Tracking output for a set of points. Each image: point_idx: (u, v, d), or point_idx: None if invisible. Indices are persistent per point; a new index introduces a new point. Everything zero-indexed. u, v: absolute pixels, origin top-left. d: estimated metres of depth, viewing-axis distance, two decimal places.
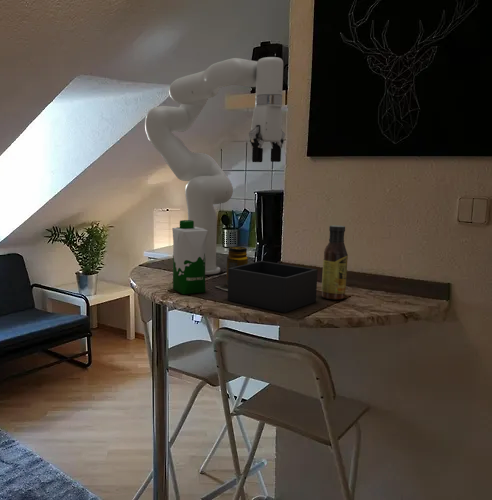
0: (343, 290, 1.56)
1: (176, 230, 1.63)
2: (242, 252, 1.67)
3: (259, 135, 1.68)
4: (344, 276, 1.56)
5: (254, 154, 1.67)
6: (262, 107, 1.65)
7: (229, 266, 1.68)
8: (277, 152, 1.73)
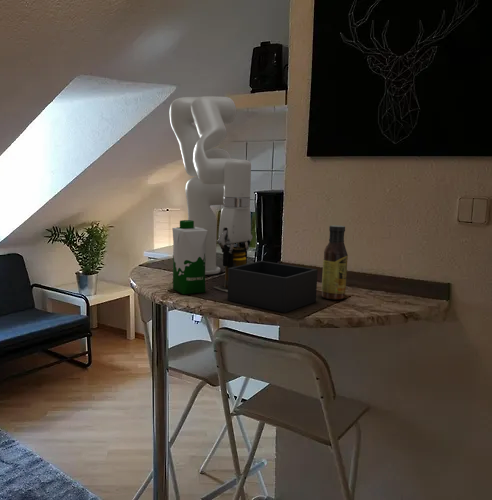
0: (343, 290, 1.56)
1: (176, 230, 1.63)
2: (241, 253, 1.66)
3: (227, 237, 1.66)
4: (344, 276, 1.56)
5: (225, 259, 1.66)
6: (229, 210, 1.63)
7: (228, 267, 1.67)
8: None
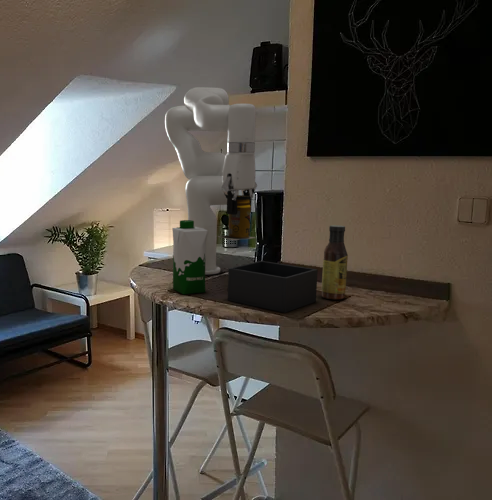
0: (343, 290, 1.56)
1: (176, 230, 1.63)
2: (245, 200, 1.62)
3: (231, 183, 1.62)
4: (344, 276, 1.56)
5: (228, 206, 1.62)
6: (233, 155, 1.59)
7: (231, 215, 1.64)
8: None
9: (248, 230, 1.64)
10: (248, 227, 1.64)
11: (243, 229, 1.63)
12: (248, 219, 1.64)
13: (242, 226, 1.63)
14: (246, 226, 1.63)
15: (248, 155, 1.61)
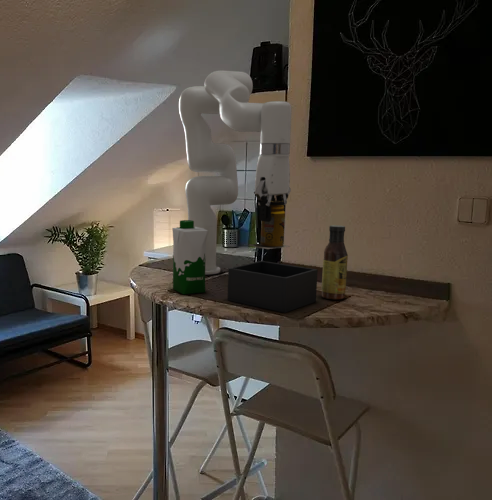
0: (343, 290, 1.56)
1: (176, 230, 1.63)
2: (280, 206, 1.50)
3: (264, 188, 1.50)
4: (344, 276, 1.56)
5: (261, 212, 1.50)
6: (267, 157, 1.47)
7: (264, 222, 1.51)
8: None
9: (282, 238, 1.52)
10: (282, 235, 1.52)
11: (277, 237, 1.51)
12: (282, 226, 1.51)
13: (276, 234, 1.50)
14: (281, 233, 1.51)
15: (283, 157, 1.49)
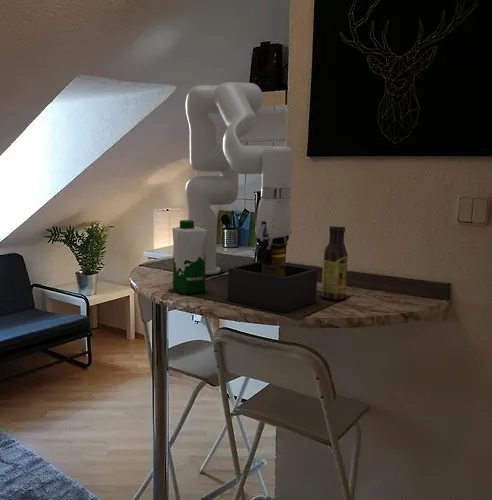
0: (343, 290, 1.56)
1: (176, 230, 1.63)
2: (281, 249, 1.51)
3: (265, 231, 1.51)
4: (344, 276, 1.56)
5: (262, 256, 1.51)
6: (268, 202, 1.48)
7: (265, 265, 1.52)
8: None
9: None
10: None
11: None
12: (283, 269, 1.52)
13: None
14: (281, 276, 1.52)
15: (284, 201, 1.50)
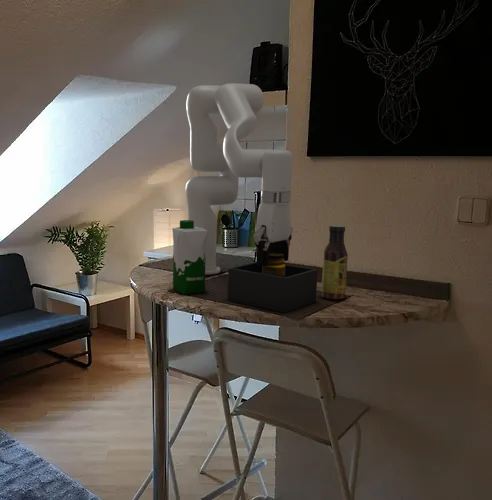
0: (343, 290, 1.56)
1: (176, 230, 1.63)
2: (280, 259, 1.51)
3: (265, 235, 1.51)
4: (344, 276, 1.56)
5: (259, 257, 1.50)
6: (268, 206, 1.48)
7: None
8: (284, 250, 1.56)
9: None
10: None
11: None
12: None
13: None
14: None
15: (283, 205, 1.50)
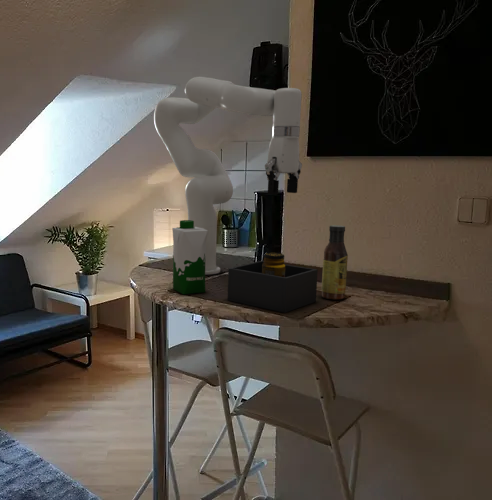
0: (343, 290, 1.56)
1: (176, 230, 1.63)
2: (280, 259, 1.51)
3: (275, 167, 1.65)
4: (344, 276, 1.56)
5: (270, 186, 1.64)
6: (279, 139, 1.62)
7: None
8: (294, 183, 1.70)
9: None
10: None
11: None
12: None
13: None
14: None
15: (293, 139, 1.64)
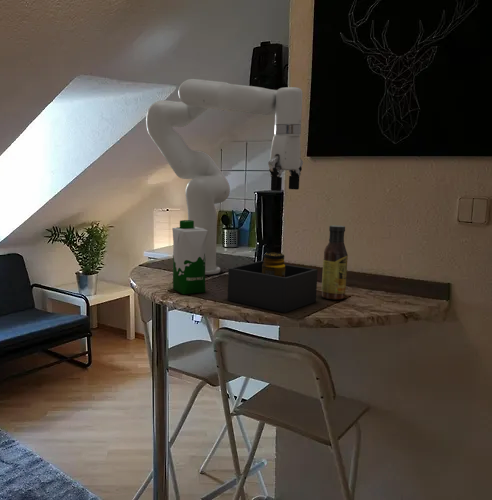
0: (343, 290, 1.56)
1: (176, 230, 1.63)
2: (280, 259, 1.51)
3: (278, 164, 1.69)
4: (344, 276, 1.56)
5: (273, 183, 1.68)
6: (281, 137, 1.66)
7: None
8: (295, 180, 1.75)
9: None
10: None
11: None
12: None
13: None
14: None
15: (295, 137, 1.68)
